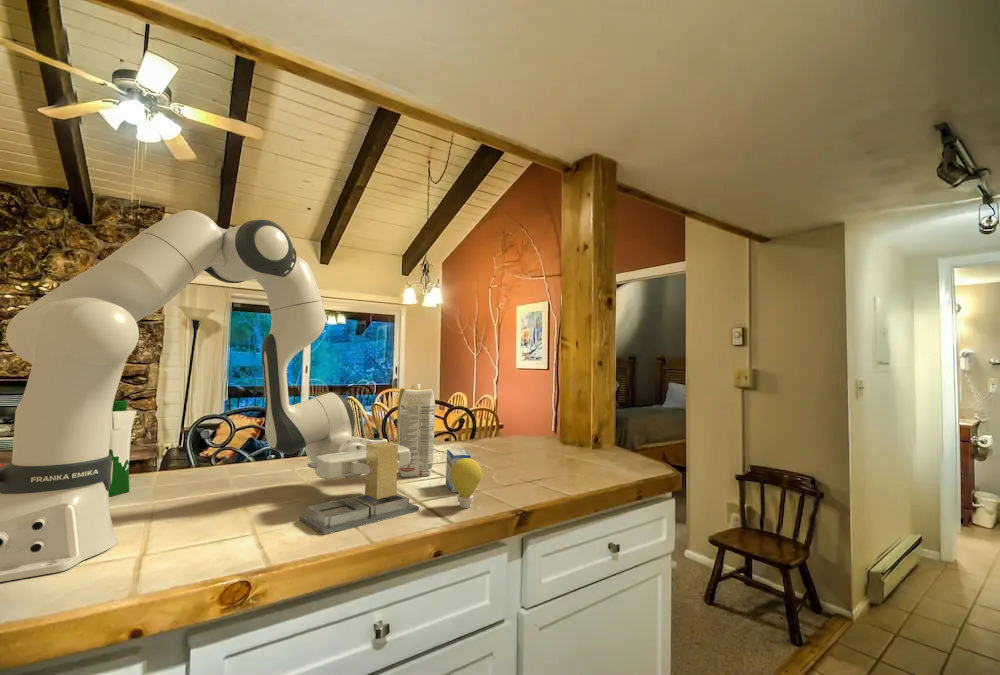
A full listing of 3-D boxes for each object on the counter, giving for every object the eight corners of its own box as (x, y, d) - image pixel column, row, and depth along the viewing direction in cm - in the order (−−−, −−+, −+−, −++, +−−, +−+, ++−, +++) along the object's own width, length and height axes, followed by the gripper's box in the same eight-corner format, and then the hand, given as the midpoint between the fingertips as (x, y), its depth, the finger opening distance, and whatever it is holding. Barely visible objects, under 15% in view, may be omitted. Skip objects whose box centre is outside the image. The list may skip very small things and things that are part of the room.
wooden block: (376, 499, 92) (378, 447, 92) (365, 494, 95) (366, 444, 96) (396, 494, 95) (397, 445, 96) (384, 490, 98) (385, 442, 99)
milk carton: (136, 491, 105) (141, 401, 106) (93, 502, 96) (99, 404, 97) (106, 487, 107) (111, 399, 108) (61, 498, 98) (67, 402, 99)
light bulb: (476, 512, 95) (477, 462, 96) (445, 509, 97) (446, 460, 97) (484, 502, 102) (485, 456, 102) (454, 500, 103) (455, 454, 104)
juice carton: (428, 469, 131) (430, 383, 132) (434, 476, 124) (437, 385, 125) (394, 471, 128) (397, 383, 129) (398, 478, 121) (401, 384, 122)
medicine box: (445, 484, 116) (446, 449, 117) (463, 483, 118) (463, 448, 118) (451, 493, 109) (452, 455, 109) (470, 492, 110) (471, 454, 111)
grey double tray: (323, 535, 81) (324, 519, 82) (299, 520, 88) (300, 506, 89) (418, 510, 96) (419, 497, 96) (391, 499, 103) (392, 487, 103)
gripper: (304, 448, 97) (335, 459, 88) (390, 437, 112) (425, 446, 102) (303, 479, 97) (334, 493, 87) (389, 464, 112) (424, 475, 102)
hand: (384, 467), depth 95 cm, fingers closed on wooden block, 4 cm apart
